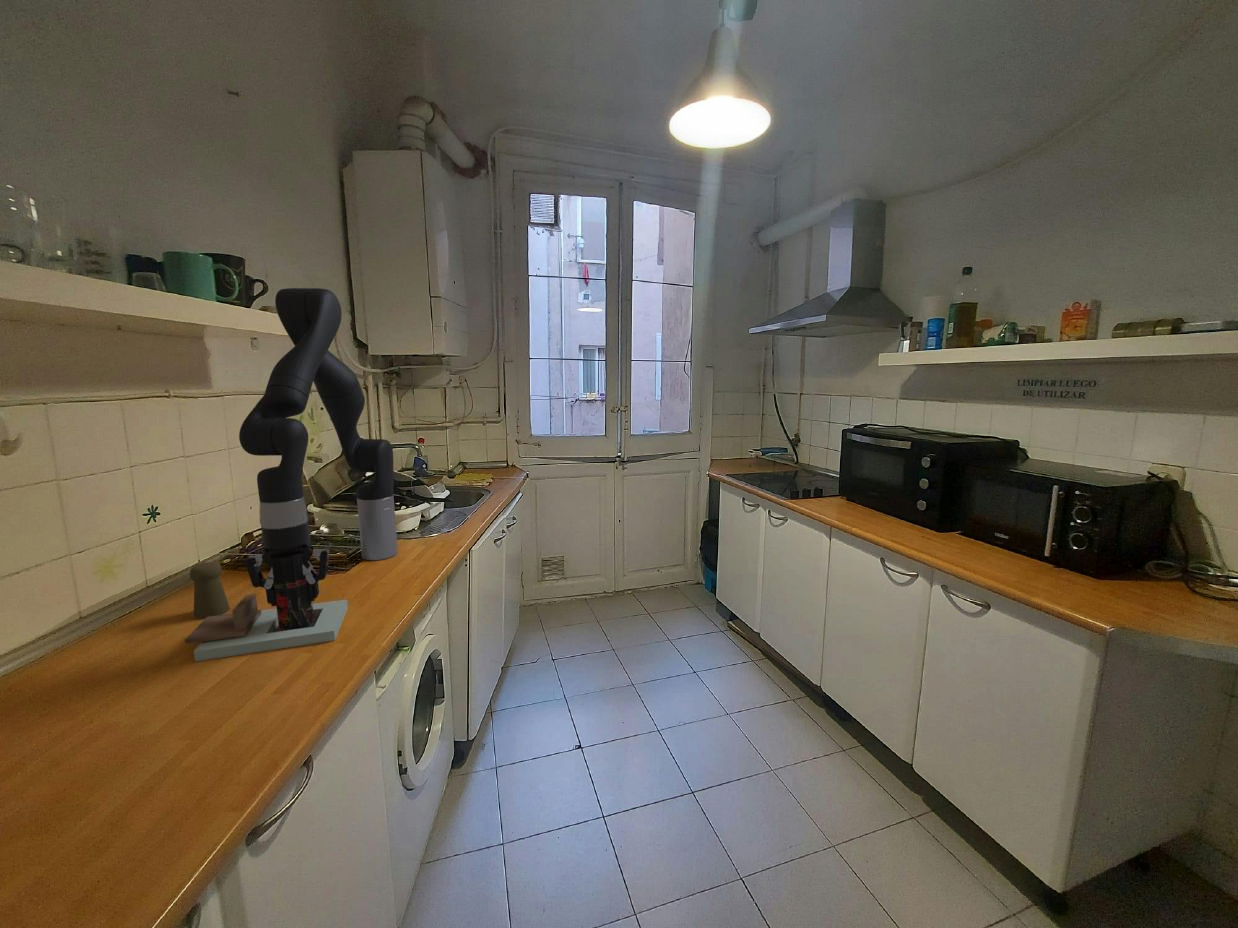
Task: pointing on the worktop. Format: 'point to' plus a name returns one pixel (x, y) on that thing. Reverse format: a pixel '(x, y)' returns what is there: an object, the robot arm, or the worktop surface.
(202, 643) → the socket board
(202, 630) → the cover
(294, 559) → the deodorant
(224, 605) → the cork
